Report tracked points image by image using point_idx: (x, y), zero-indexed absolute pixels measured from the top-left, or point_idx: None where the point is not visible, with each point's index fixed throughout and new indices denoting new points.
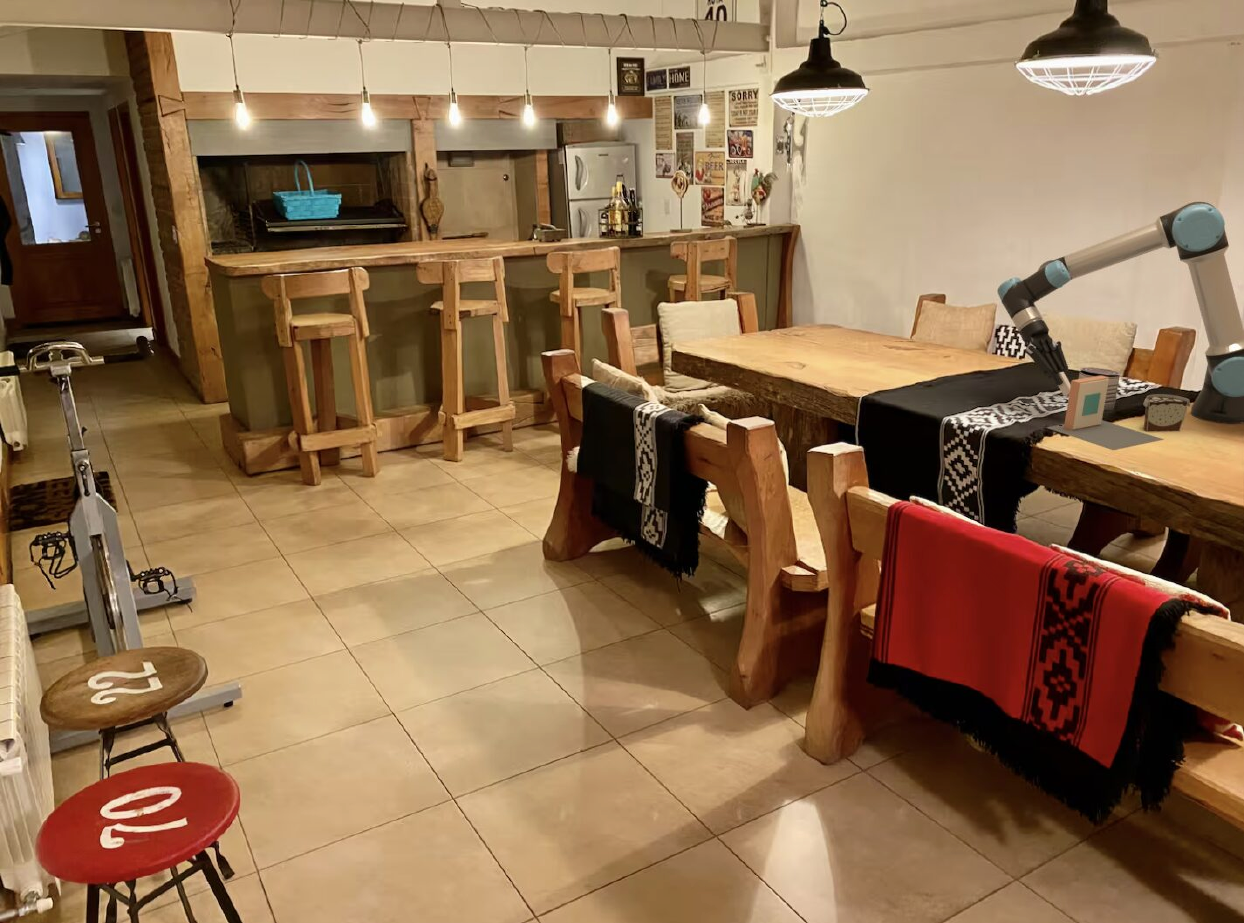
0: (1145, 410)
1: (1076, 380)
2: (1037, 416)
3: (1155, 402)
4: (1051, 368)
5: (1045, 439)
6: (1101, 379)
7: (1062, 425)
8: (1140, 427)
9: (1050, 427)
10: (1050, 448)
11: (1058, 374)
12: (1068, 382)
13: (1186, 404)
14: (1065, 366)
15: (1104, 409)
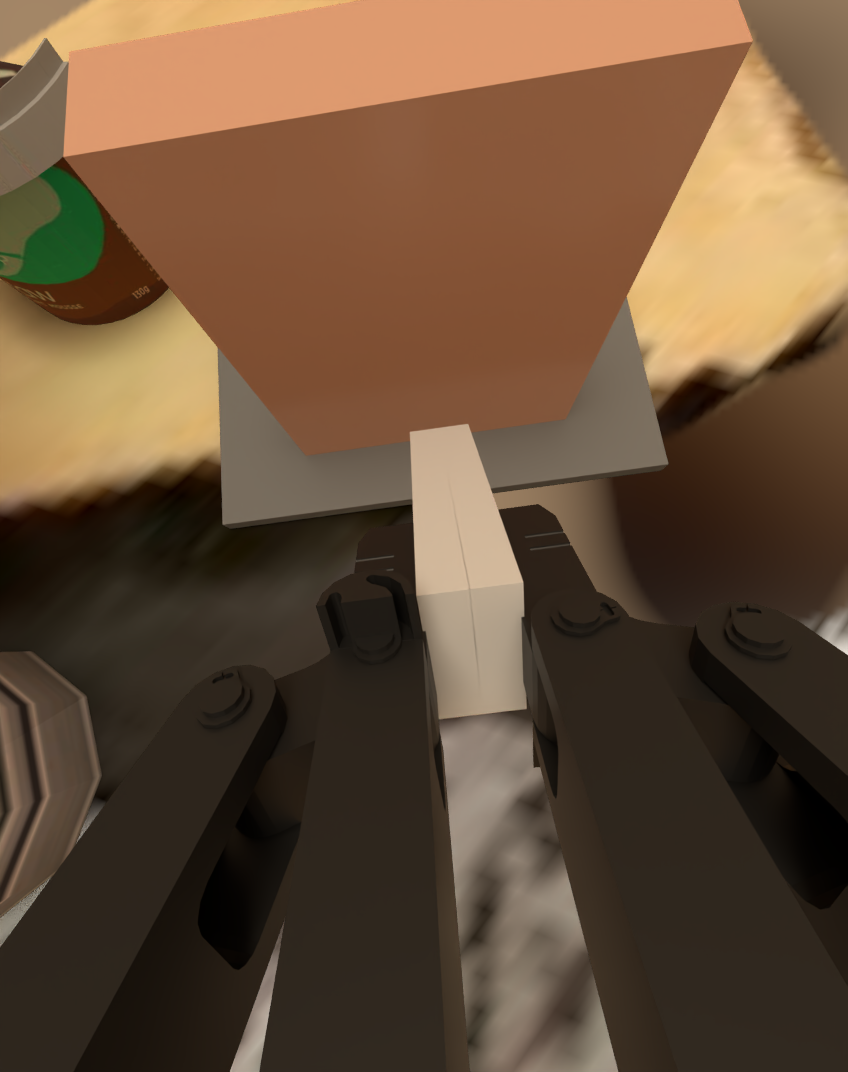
0: (82, 188)
1: (671, 25)
2: (507, 740)
3: (10, 68)
4: (753, 663)
5: (772, 335)
6: (232, 39)
7: (534, 465)
8: (110, 354)
9: (639, 454)
10: (838, 215)
11: (527, 601)
12: (428, 480)
13: None
14: (236, 725)
15: (11, 652)
